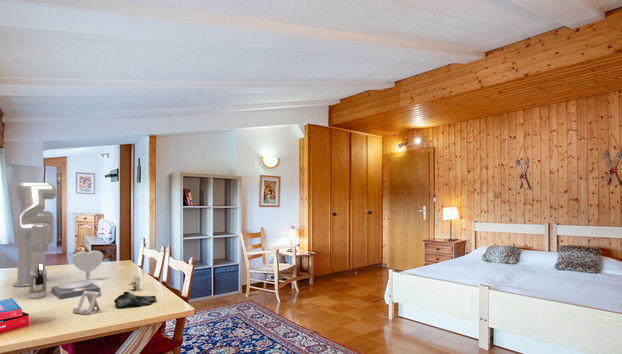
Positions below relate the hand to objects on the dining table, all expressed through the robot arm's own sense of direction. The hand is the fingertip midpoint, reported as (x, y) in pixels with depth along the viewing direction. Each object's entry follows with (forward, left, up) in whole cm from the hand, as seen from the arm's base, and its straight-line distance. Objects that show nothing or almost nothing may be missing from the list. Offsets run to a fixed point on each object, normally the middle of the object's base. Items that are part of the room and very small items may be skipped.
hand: (38, 283), depth 188 cm
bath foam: (0, 0, -7) cm, 7 cm away
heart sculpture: (-21, +27, -7) cm, 35 cm away
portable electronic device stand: (+47, +12, -7) cm, 49 cm away
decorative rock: (+49, +32, -7) cm, 59 cm away
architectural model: (+22, +40, -8) cm, 46 cm away
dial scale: (+3, +16, -7) cm, 18 cm away
